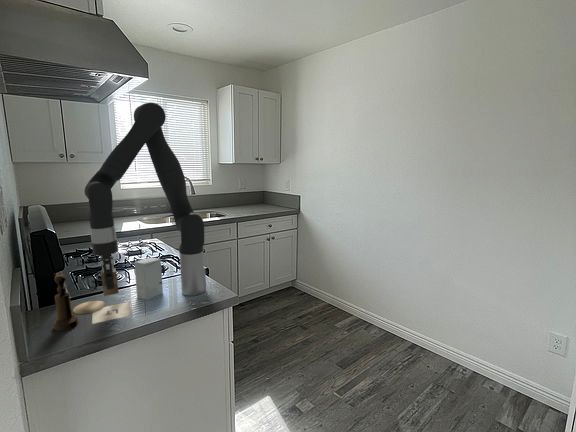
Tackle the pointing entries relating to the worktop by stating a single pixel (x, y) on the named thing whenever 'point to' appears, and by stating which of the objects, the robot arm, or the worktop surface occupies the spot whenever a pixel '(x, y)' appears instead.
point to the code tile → (111, 312)
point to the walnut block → (105, 290)
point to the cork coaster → (89, 307)
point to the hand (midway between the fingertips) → (110, 286)
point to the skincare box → (148, 278)
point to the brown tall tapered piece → (63, 307)
